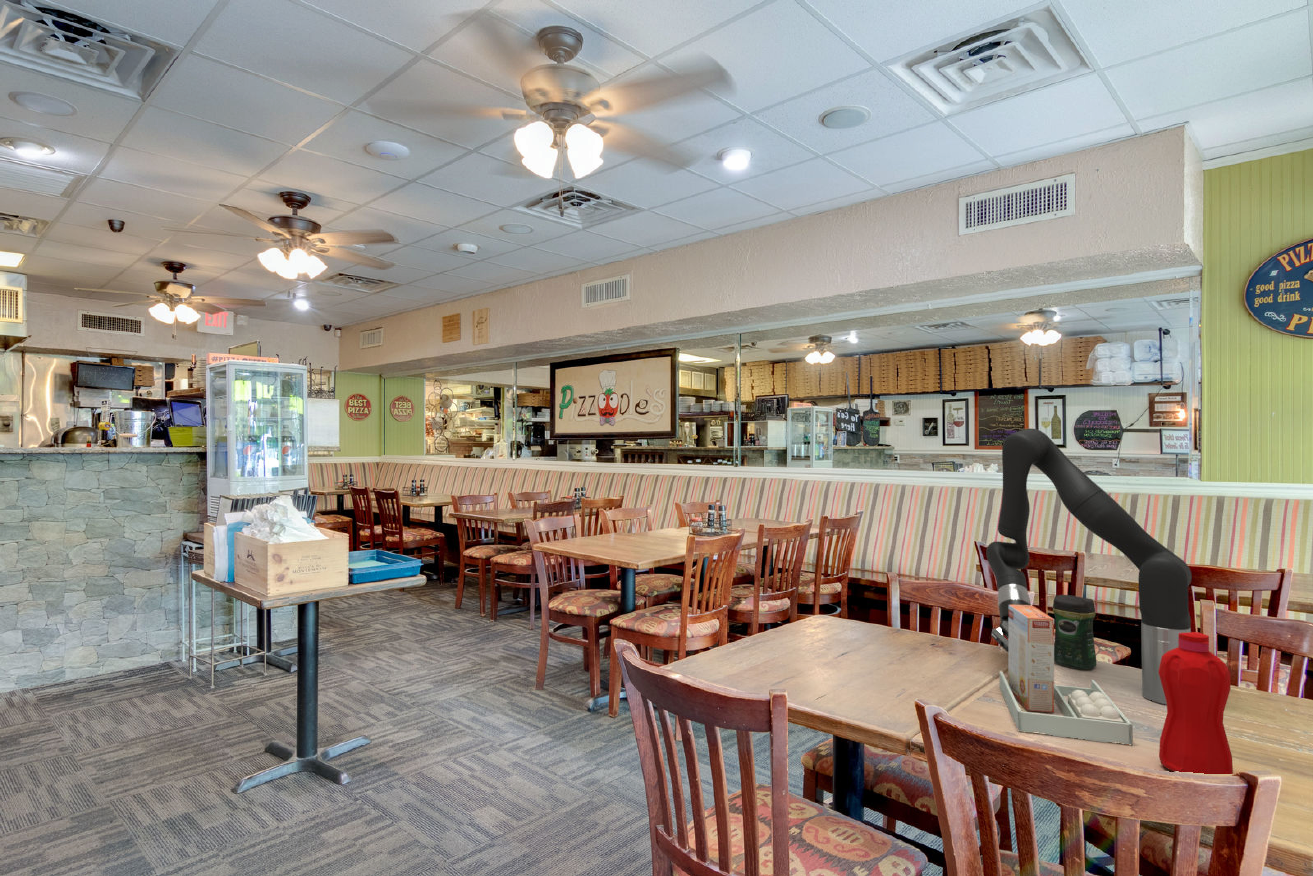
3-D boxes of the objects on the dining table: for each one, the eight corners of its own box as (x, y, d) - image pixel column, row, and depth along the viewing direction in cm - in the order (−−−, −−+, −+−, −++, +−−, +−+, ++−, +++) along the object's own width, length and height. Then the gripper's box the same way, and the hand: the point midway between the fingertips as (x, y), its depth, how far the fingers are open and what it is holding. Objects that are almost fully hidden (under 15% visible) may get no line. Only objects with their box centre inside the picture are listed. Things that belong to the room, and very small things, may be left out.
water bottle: (1186, 756, 131) (1184, 623, 131) (1243, 783, 120) (1240, 638, 120) (1142, 759, 129) (1140, 625, 130) (1196, 787, 118) (1194, 640, 119)
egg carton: (1104, 718, 150) (1104, 689, 150) (1124, 744, 136) (1123, 712, 137) (1068, 714, 152) (1067, 685, 152) (1083, 739, 139) (1082, 707, 139)
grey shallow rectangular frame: (1094, 697, 162) (1094, 680, 162) (1132, 745, 135) (1132, 725, 135) (999, 687, 168) (999, 671, 168) (1018, 731, 142) (1018, 712, 142)
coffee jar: (1101, 667, 184) (1100, 597, 184) (1087, 673, 179) (1086, 601, 180) (1062, 658, 192) (1062, 591, 192) (1048, 663, 187) (1047, 594, 188)
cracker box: (1056, 714, 151) (1055, 618, 152) (1026, 712, 152) (1025, 617, 153) (1034, 692, 165) (1034, 604, 165) (1007, 690, 166) (1006, 603, 167)
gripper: (987, 596, 180) (994, 656, 168) (1045, 599, 176) (1056, 662, 164) (985, 612, 185) (991, 671, 173) (1041, 616, 181) (1051, 677, 169)
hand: (1023, 667), depth 169 cm, fingers closed
